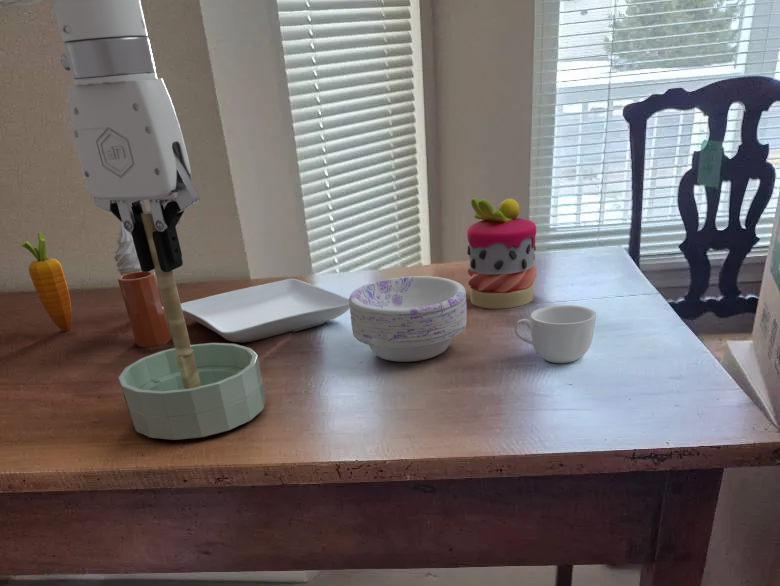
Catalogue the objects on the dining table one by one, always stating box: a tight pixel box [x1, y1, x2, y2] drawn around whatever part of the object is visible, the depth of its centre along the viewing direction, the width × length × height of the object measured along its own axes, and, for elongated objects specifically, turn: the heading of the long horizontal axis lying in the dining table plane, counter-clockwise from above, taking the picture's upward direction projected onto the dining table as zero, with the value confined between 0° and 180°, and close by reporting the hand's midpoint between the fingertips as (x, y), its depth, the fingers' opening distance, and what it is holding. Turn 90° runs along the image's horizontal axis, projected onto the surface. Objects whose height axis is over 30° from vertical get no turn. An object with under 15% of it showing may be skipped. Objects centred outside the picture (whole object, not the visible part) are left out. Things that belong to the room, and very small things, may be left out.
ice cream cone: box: [114, 220, 142, 276], centre depth 117 cm, size 5×5×15 cm
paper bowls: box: [348, 275, 468, 363], centre depth 96 cm, size 15×15×8 cm
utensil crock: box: [117, 270, 172, 348], centre depth 106 cm, size 5×5×10 cm
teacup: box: [514, 304, 597, 364], centre depth 91 cm, size 10×8×5 cm
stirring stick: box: [141, 210, 201, 389], centre depth 81 cm, size 2×2×20 cm
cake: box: [466, 197, 537, 310], centre depth 111 cm, size 10×11×15 cm
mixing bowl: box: [117, 342, 267, 441], centre depth 84 cm, size 15×15×6 cm
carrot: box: [21, 232, 73, 332], centre depth 113 cm, size 5×5×15 cm
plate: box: [181, 278, 350, 343], centre depth 113 cm, size 21×21×3 cm
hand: (162, 267), depth 78 cm, fingers closed on stirring stick, 1 cm apart
